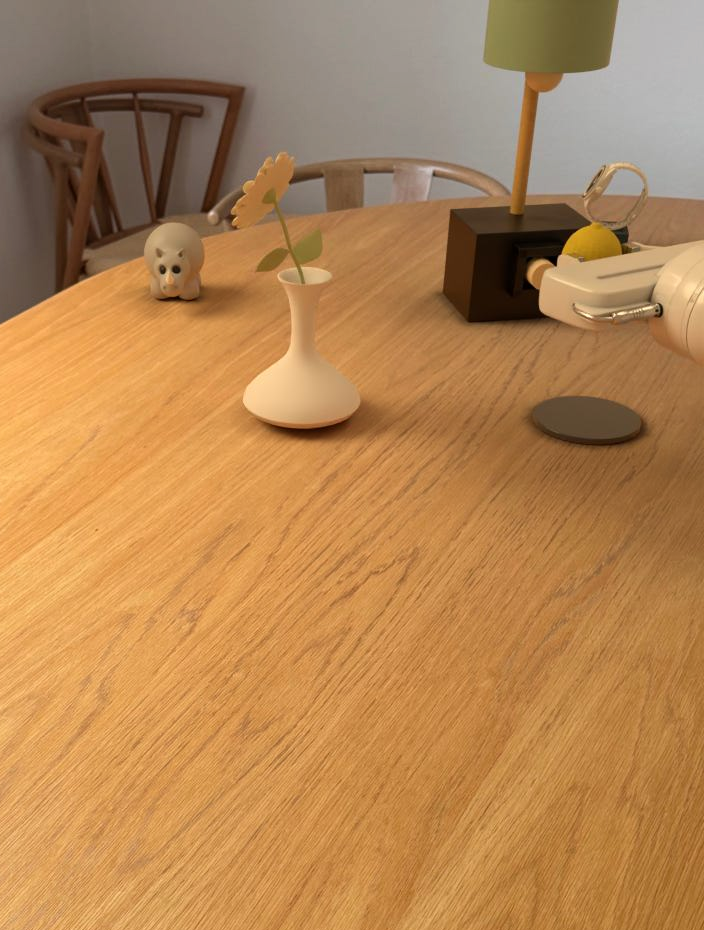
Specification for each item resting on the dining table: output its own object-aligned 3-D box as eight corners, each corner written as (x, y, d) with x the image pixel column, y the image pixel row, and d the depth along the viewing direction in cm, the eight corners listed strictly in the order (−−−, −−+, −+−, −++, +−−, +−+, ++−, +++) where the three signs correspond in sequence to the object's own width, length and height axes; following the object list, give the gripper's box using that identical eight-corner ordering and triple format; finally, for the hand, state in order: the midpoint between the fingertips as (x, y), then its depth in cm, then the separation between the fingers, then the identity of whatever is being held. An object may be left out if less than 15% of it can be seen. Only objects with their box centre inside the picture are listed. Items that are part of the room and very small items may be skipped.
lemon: (623, 319, 114) (637, 230, 109) (562, 322, 113) (574, 233, 109) (604, 297, 118) (617, 211, 113) (546, 300, 118) (556, 214, 113)
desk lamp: (593, 322, 143) (646, -6, 124) (474, 330, 141) (510, -2, 122) (552, 285, 153) (595, -23, 135) (441, 292, 152) (469, -19, 133)
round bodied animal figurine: (137, 318, 145) (133, 245, 140) (149, 284, 155) (146, 214, 150) (199, 319, 145) (198, 245, 140) (207, 285, 155) (206, 215, 150)
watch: (573, 243, 167) (586, 157, 161) (636, 246, 166) (651, 160, 160) (574, 256, 163) (587, 168, 156) (639, 259, 161) (654, 171, 155)
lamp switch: (556, 289, 139) (560, 262, 137) (530, 291, 138) (533, 264, 137) (548, 282, 141) (551, 255, 139) (522, 283, 140) (525, 257, 139)
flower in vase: (313, 383, 129) (321, 126, 115) (383, 421, 121) (401, 150, 107) (206, 412, 123) (201, 146, 109) (273, 455, 115) (276, 173, 101)
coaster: (630, 402, 124) (631, 397, 124) (648, 446, 116) (649, 440, 116) (527, 399, 125) (528, 394, 125) (538, 443, 117) (539, 437, 117)
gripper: (596, 362, 100) (494, 309, 111) (788, 320, 107) (676, 274, 118) (608, 284, 97) (502, 237, 107) (806, 246, 104) (688, 205, 114)
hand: (594, 256), depth 113 cm, fingers closed on lemon, 5 cm apart
